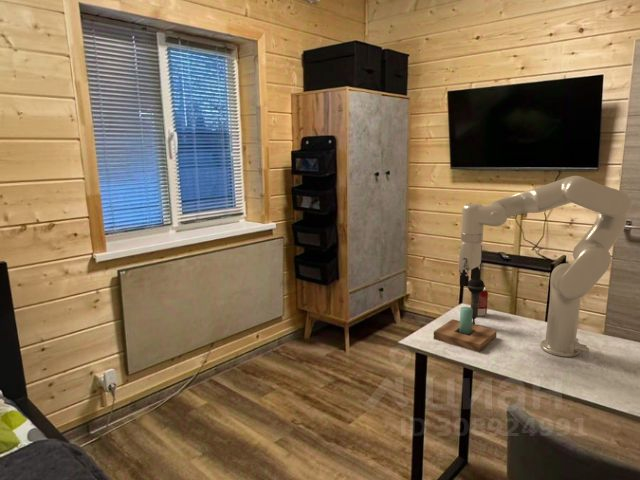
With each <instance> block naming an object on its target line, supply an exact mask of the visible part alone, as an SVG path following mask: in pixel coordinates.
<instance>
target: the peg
mask: <svg viewBox="0 0 640 480" xmlns="http://www.w3.org/2000/svg"><path fill="white" fill-rule="evenodd" d="M472 315H473V309H472V308H471V306H461V307H460V314H459V321H460V328H459V333H461V334H465V335H468V336H470V335H471V331H472V322H473V319H472Z"/></svg>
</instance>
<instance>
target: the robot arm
mask: <svg viewBox="0 0 640 480" xmlns="http://www.w3.org/2000/svg"><path fill="white" fill-rule="evenodd" d="M571 203H573V204H575V205H577V206H579V207H582V208H584V209H587V210H590V211H592V212H595V213H597V214H596V219H595V221H594V222H593V225H592V226H591V227H590V228H589V230H588V231H587V232H586V234H585V235H584V236H583V237H582V239H580V241H578V243H577V244H576V245H575V247H574V248H573V250H572V257H573V259H574V260H573V261H572V263H567V262H566V263H565V262H564V263H561V264H558V265H556V266H555V267H554V268H553V270H552V272H551V274H550V281H549V282H550V283H549V284H550V285H549V286H550V289H549V290H550V291H549V304H548V310H547V311H548V313H547V323H546V333H545V339H543V340H542V341H541V342H540V344H539V346H540V349H542V350H543V351H545V352H547V353H549V354H551V355H554V356H558V357H565V358H567V357H568V358H569V357H577V356H578V355H579V354H580V352H582V353H585V354H589V352H590V347H588V345H586V344H585V343H580V342H579V338H577V333H578V325H579V316H580V309H581V298H583V297H585V296H586V295H587V294H588V293H589V292H590V290H592V288H593V287H594V286H595V285H597V283H598V281H600V280H601V278H602V277H604V275H605V273H606V272H607V271H608V270H609V268H610V265H611V263H612V256H611V253H610V249H611V248H613V246H614V245H615V243H616V241H617V240H619V238H620V237H621V236H622V234H623V232H624V230H625V228H626V224H627V216H628V215H627V214H628V213H629V212H630V211H631V209H632V207H633V201H632V199H631V197H630V195H629V194H627V193H626V192H624V191H622V190H619V189H617V188H613V187H609V186H606V185H604V184H600V183H599V182H595V181H593V180H591V179H589V178H587V177H583V176H580V175H570V176H568V177H567V176H566V177H564V178H562V179H558V180H556V181H555V180H554V181H553V182H550V183H548V184H544V185H541V186H539V187H535V188H533V189H529V190H525V191H523V192H520V193H516V194H513V195H510V196H507V197H503V198H501V199H498V200H494V201H492V202H491V203H489V204H487V205H483V204H479V203H466V204H464V205H463V207H462V213H461V233H460V242H461V244H460V248H459V255H458V264H457V265H458V267H457V268H458V269H459V286H461V287H467V288H468V286H469V280H471V279H473V280H479V279H480V277H481V276H480V275H481V274H480V272H481V264H482V258H483V257H482V244H483V241H484V226H488V227H489V226H490V227H501V226H502V225H504V224H505V223H506V222H507V220H508V218H513V217H515V216H518V215H523V214H530V213H531V214H538V213H543V212H547V211H550V210H553V209H556V208H558V207H561V206H562V207H563V206H564V205H565V206H566V205H569V204H571ZM469 273H470V275H469Z"/></svg>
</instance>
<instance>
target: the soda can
mask: <svg viewBox="0 0 640 480" xmlns="http://www.w3.org/2000/svg"><path fill="white" fill-rule="evenodd" d="M488 297H489V291H488V289H487V288H486V287H485V288H484V290H483V291H482V292H481V293H480V296H479V305H478V315H477V318H478V317H480V318H483V317H485V316H487V314H488Z"/></svg>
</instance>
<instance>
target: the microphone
mask: <svg viewBox="0 0 640 480" xmlns="http://www.w3.org/2000/svg"><path fill="white" fill-rule="evenodd" d="M484 288H486V285H485V282H484V280H483V279H481V278H479V280H473V279H471V278H470V279H469V286H468V287H467V290H468V291H469V292H470V296H471V297H470V308H472V309H473V315H472V324H473V325H476V322H475V321H476V320H475V319H477V318H478V317H477V315H478V305H479V296H480V293H481V292H482V291H483V290H484Z"/></svg>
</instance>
